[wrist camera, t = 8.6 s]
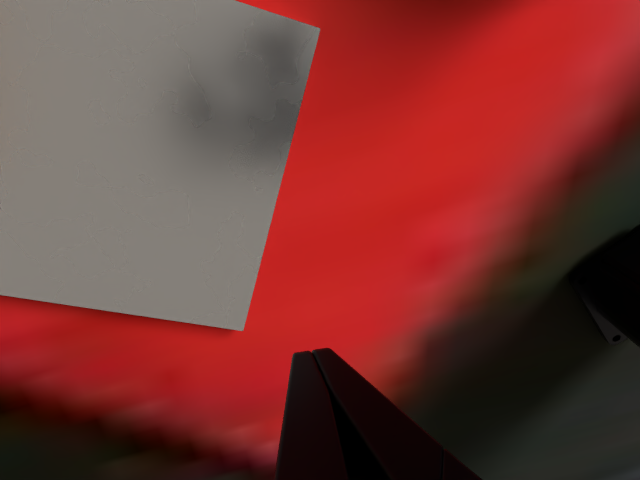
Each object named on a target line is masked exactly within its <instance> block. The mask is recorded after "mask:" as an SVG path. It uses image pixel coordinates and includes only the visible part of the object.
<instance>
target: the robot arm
mask: <svg viewBox="0 0 640 480" xmlns="http://www.w3.org/2000/svg"><path fill="white" fill-rule="evenodd" d="M581 277H582V278H581ZM580 278H581V279H580ZM579 279H580V280H579ZM569 281H570V283H571V285H572V287H573V288H574V290H575V292H576V293H577V295H578V297H579V298H580V300H581V302H582V303H583V305H584V306H585V308H586V310H587V311H588V313H589V315H590V316H591V318H592V320H593V321H594V323H595V325H596V326H597V328H598V330H599V331H600V333H601V335H602V336H603V338H604V339H605V340H606V341H607V342H608V343H609V344H611V345H616V344H619V343H620V342H622V341H624V340H625V339H627V338H629V339H630V340H631V341H633V342H634V343H635V344H636V345H637V346H639V347H640V228H638V229H637V230H635V231H634V232H632V233H631V234H629V235H628V236H626V237H625V238H623V239H622V240H620V241H619V242H617V243H616V244H614V245H613V246H611V247H610V248H608V249H607V250H605V251H604V252H602V253H601V254H599V255H598V256H596V257H595V258H593V259H592V260H590V261H589V262H587V263H586V264H584V265H583V266H581V267H580V268H578V269H577V270H575V271H574V272H573V273H572V274H571V275H570V277H569ZM274 480H482V479H481V478H480V477H478V476H477V475H476V474H475V473H474V472H472V471H471V470H470V469H469V468H468V467H466V466H465V465H464V464H463V463H462V462H460V461H459V460H458V459H457V458H456V457H455V456H453V455H452V454H451V453H450V452H449V451H448V450H446V449H444V450H443V446H442V445H441V444H439V443H438V442H437V441H436V440H435V439H434V438H433V437H431V436H430V435H429V434H428V433H427V432H426V431H424V430H423V429H422V428H421V427H420V426H419V425H418V424H416V423H415V422H414V421H413V420H412V419H411V418H410V417H408V416H407V415H406V414H405V413H404V412H403V411H402V410H400V409H399V408H398V407H397V406H396V405H395V404H393V403H392V402H391V401H390V400H389V399H388V398H387V397H385V396H384V395H383V394H382V393H381V392H380V391H379V390H377V389H376V388H375V387H374V386H373V385H372V384H371V383H369V382H368V381H367V380H366V379H365V378H364V377H362V376H361V375H360V374H359V373H358V372H357V371H356V370H354V369H353V368H352V367H351V366H350V365H349V364H348V363H346V362H345V361H344V360H343V359H342V358H341V357H339V356H338V355H337V354H336V353H335V352H334V351H333V350H331V349H330V348H322V349H316V350H313V351H312V352H310V351H303V352H297V353H294V354H293V357H292V363H291V370H290V376H289V383H288V390H287V397H286V403H285V410H284V417H283V423H282V430H281V437H280V443H279V450H278V457H277V463H276V470H275V477H274Z"/></svg>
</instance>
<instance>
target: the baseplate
mask: <svg viewBox="0 0 640 480" xmlns="http://www.w3.org/2000/svg"><path fill="white" fill-rule="evenodd" d="M319 32H320V28H317V27H314V26H311V25H308V24H305V23H302V22H299V21H296V20H293V19H290V18H287V17H284V16H281V15H278V14H275V13H271V12H268V11H265V10H262V9H259V8H256V7H253V6H250V5H247V4H244V3H241V2H238V1H235V0H0V295H4V296H10V297H17V298H24V299H31V300H37V301H44V302H51V303H58V304H64V305H71V306H78V307H85V308H91V309H98V310H105V311H111V312H118V313H125V314H132V315H138V316H145V317H152V318H159V319H165V320H172V321H179V322H186V323H192V324H199V325H206V326H212V327H219V328H226V329H233V330H239V331H243V329H244V325H245V321H246V317H247V314H248V310H249V306H250V302H251V298H252V294H253V290H254V286H255V282H256V278H257V274H258V271H259V267H260V263H261V259H262V255H263V251H264V247H265V243H266V239H267V235H268V231H269V228H270V224H271V220H272V216H273V212H274V208H275V204H276V200H277V196H278V192H279V188H280V184H281V181H282V177H283V173H284V169H285V165H286V161H287V157H288V153H289V149H290V145H291V141H292V138H293V134H294V130H295V126H296V122H297V118H298V114H299V110H300V106H301V102H302V98H303V95H304V91H305V87H306V83H307V79H308V75H309V71H310V67H311V63H312V59H313V55H314V52H315V48H316V44H317V40H318V36H319Z"/></svg>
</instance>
